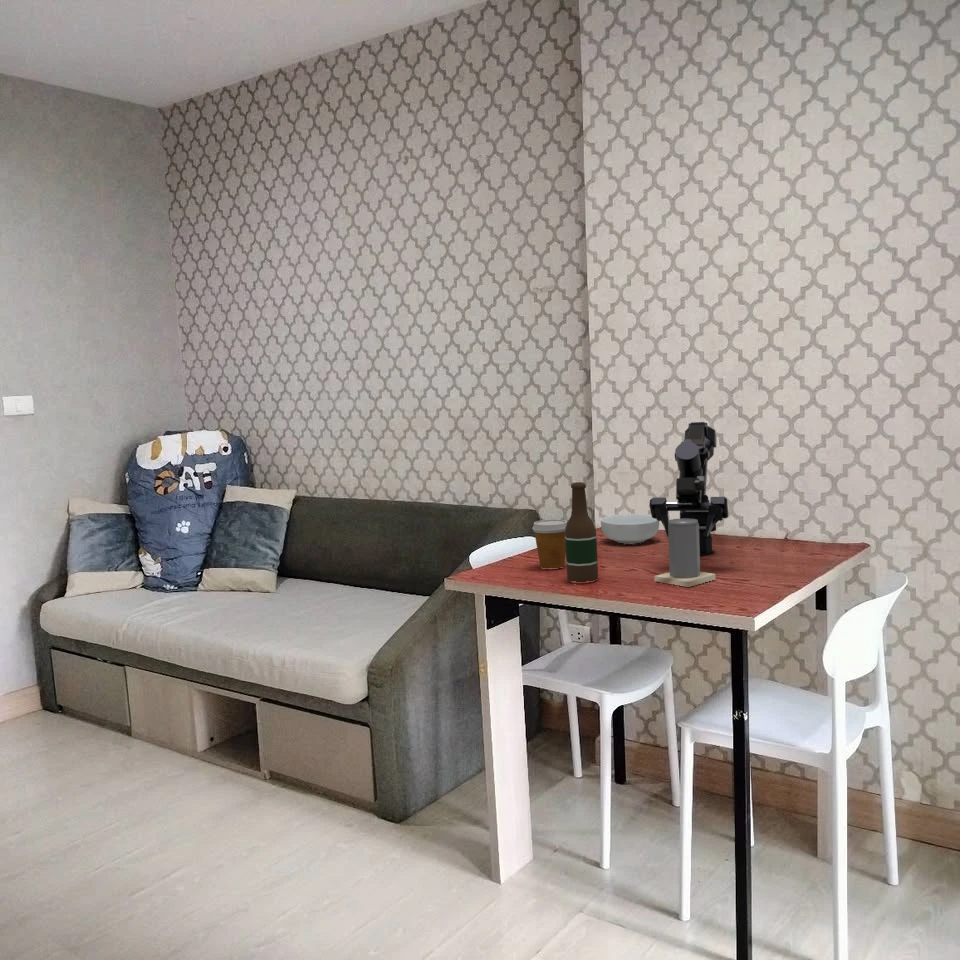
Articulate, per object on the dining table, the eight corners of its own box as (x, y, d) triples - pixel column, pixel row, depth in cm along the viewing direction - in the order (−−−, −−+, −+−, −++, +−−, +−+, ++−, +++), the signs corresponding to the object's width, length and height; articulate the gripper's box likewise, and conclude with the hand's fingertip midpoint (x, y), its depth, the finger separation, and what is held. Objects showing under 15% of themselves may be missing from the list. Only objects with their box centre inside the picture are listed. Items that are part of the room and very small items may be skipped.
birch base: (654, 582, 225) (654, 575, 225) (681, 574, 231) (681, 568, 231) (688, 588, 217) (688, 581, 217) (715, 580, 223) (715, 574, 223)
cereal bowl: (589, 544, 277) (588, 520, 277) (625, 535, 289) (624, 512, 288) (636, 549, 265) (635, 524, 264) (671, 540, 276) (670, 516, 275)
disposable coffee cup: (575, 564, 250) (573, 519, 249) (563, 572, 241) (561, 525, 240) (542, 563, 254) (539, 519, 253) (528, 570, 245) (526, 525, 244)
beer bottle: (601, 577, 233) (597, 480, 230) (594, 584, 226) (590, 484, 223) (570, 576, 236) (566, 481, 233) (563, 583, 228) (558, 485, 226)
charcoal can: (665, 574, 226) (663, 520, 224) (689, 570, 228) (688, 517, 227) (680, 579, 220) (678, 524, 218) (704, 575, 222) (703, 521, 220)
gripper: (649, 465, 236) (644, 516, 227) (726, 463, 230) (724, 516, 221) (654, 492, 244) (649, 542, 235) (729, 491, 238) (727, 543, 229)
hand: (687, 535), depth 230 cm, fingers open, 9 cm apart
